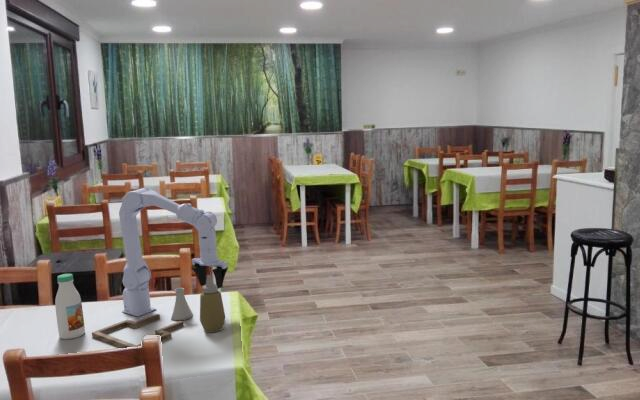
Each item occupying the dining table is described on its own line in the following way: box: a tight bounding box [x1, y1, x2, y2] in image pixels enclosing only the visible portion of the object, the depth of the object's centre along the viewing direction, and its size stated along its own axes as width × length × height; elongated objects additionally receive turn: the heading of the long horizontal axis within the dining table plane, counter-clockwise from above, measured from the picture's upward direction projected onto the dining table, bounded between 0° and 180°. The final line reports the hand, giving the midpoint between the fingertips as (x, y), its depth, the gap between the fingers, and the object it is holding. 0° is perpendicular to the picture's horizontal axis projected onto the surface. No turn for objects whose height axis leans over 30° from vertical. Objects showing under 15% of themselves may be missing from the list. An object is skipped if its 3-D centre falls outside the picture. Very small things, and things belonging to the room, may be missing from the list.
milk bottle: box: [54, 273, 86, 340], centre depth 178 cm, size 8×8×20 cm
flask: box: [170, 287, 194, 321], centre depth 190 cm, size 7×7×10 cm
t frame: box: [91, 313, 185, 349], centre depth 178 cm, size 23×22×2 cm
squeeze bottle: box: [199, 274, 226, 333], centre depth 177 cm, size 8×8×18 cm
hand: (211, 286), depth 192 cm, fingers open, 7 cm apart
